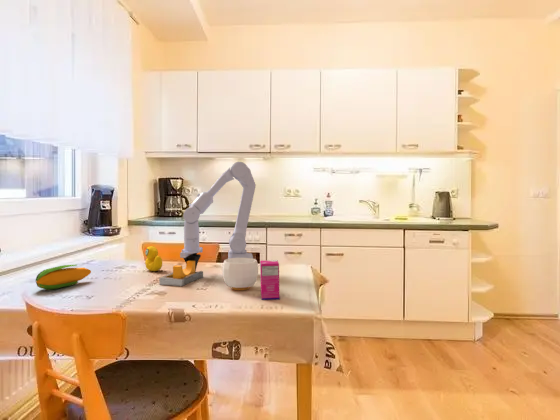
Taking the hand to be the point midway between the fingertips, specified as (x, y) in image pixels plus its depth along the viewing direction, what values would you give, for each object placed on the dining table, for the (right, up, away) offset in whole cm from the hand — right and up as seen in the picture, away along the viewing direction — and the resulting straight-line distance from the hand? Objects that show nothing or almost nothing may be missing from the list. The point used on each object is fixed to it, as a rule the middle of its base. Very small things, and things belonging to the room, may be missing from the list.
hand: (192, 273), depth 161 cm
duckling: (-18, -1, +10) cm, 20 cm away
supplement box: (+31, -3, -30) cm, 43 cm away
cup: (+21, -3, -19) cm, 28 cm away
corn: (-41, -2, -16) cm, 44 cm away
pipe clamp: (-2, -2, -8) cm, 8 cm away
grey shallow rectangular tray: (-2, -2, -8) cm, 9 cm away
